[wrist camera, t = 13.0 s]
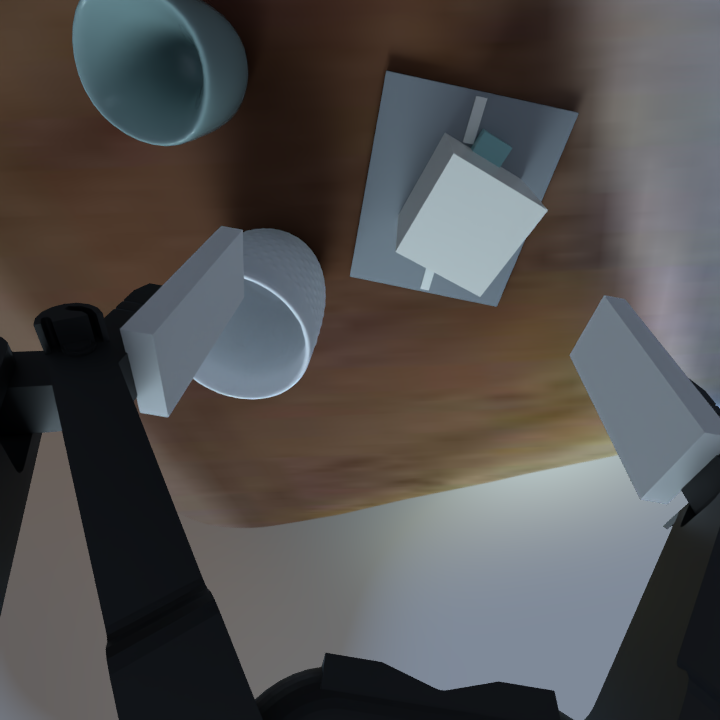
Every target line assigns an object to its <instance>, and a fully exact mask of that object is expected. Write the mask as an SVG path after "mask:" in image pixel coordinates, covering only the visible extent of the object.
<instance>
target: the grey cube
mask: <svg viewBox="0 0 720 720" xmlns="http://www.w3.org/2000/svg"><path fill="white" fill-rule="evenodd" d="M511 150H512V147H511V146H510V145H508V144H507V143H505V142H504V141H502V140H500V139H499V138H497V137H496V136H494V135H492V134H491V133H489V132H488V131H486V130H484V129H482V131H481V132H480V134H479V135H478V137H477V139H476V140H475V142H474V144H473V145H472V147H471V148H469V147H468V146H466V145H465V144H463V143H461V142H460V141H458V140H456V139H455V138H453V137H451V136H450V135H448V134H447V133H444V135H443V137H442V139H441V140H440V142H439V144H438V146H437V147H436V149H435V151H434V153H433V155H432V156H431V158H430V160H429V162H428V163H427V165H426V167H425V169H424V171H423V172H422V174H421V176H420V178H419V179H418V181H417V183H416V185H415V187H414V188H413V190H412V192H411V194H410V195H409V197H408V199H407V201H406V203H405V204H404V206H403V208H402V210H401V211H400V213H399V215H398V224H397V238H396V251H395V252H397V253H398V254H400V255H402V256H404V257H406V258H408V259H410V260H412V261H413V262H415V263H417V264H419V265H421V266H423V267H425V268H427V269H428V270H430V271H432V272H434V273H436V274H438V275H440V276H442V277H443V278H445V279H447V280H449V281H451V282H453V283H455V284H457V285H458V286H460V287H462V288H464V289H466V290H468V291H470V292H472V293H473V294H475V295H477V296H479V297H481V295H482V294H483V293H484V292H485V290H486V289H487V288H488V286H489V285H490V284H491V283H492V281H493V280H494V279H495V277H496V276H497V275H498V274H499V272H500V271H501V270H502V268H503V267H504V266H505V265H506V263H507V262H508V261H509V259H510V258H511V257H512V256H513V254H514V253H515V252H516V250H517V249H518V248H519V247H520V245H521V244H522V243H523V241H524V240H525V239H526V238H527V236H528V235H529V234H530V233H531V231H532V230H533V229H534V227H535V226H536V225H537V224H538V222H539V221H540V220H541V218H542V217H543V216H544V215H545V213H546V212H547V211H548V210H547V209H546V207H545V206H544V205H543V204H542V203H541V202H540V200H539V199H538V198H537V197H536V196H535V195H534V194H533V192H532V191H531V190H530V189H529V188H528V187H527V185H526V184H525V183H524V182H523V181H522V180H521V179H520V178H518V177H517V176H515V175H514V174H512V173H510V172H509V171H507V170H505V169H504V168H502V167H500V166H501V165H502V163H503V162H504V160H505V159H506V157H507V156H508V154H509V153H510V151H511Z"/></svg>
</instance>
